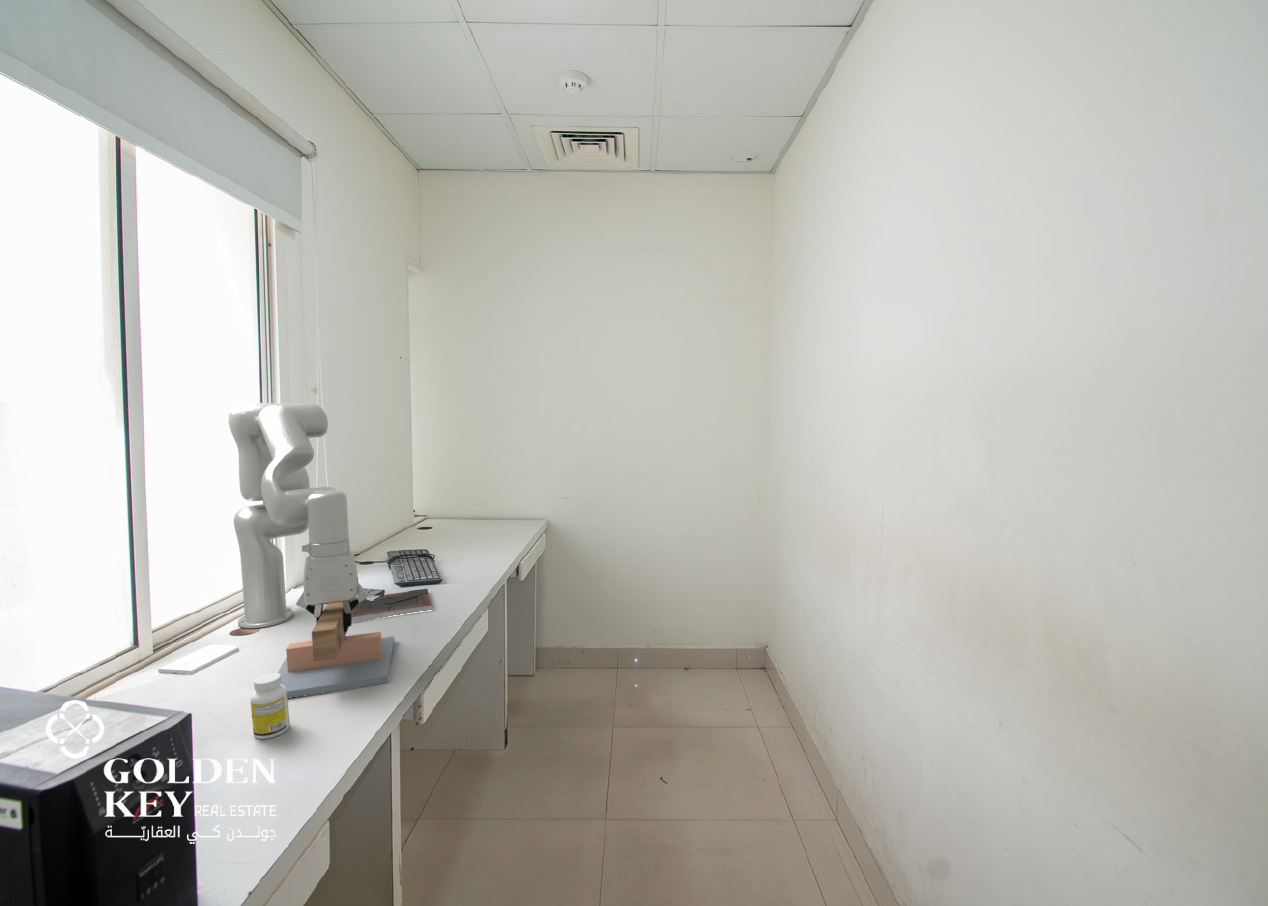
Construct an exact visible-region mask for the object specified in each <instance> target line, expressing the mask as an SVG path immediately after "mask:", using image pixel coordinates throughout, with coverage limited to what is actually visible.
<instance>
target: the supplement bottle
mask: <svg viewBox="0 0 1268 906" xmlns="http://www.w3.org/2000/svg"><path fill="white" fill-rule="evenodd" d="M253 685H254V686H253V687H254V691H253V693H252V694H251V696H250V709H251V710H250V711H251V719H252V732H253V736H254V738H255V739H258V740H267V739H271V738H275V737H278V736H280V735H282V734H283V733H285V732H286V731H287V730H288V729H289V727H290V711H289V699H288V697H287V689H286V687H285V686H284V685H281V675H280V674H279V673H278V672H271V673H270V672H269V673H266V674H263V675H260V676H258V677H257V678H255V679H254V681H253Z"/></svg>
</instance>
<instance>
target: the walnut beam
mask: <svg viewBox="0 0 1268 906" xmlns="http://www.w3.org/2000/svg"><path fill="white" fill-rule="evenodd" d="M351 602H352V600H351ZM343 614H344V607H343V603H342V602H336V603H328V604H326V606H324V608H323V613H322V614H321V616H320V618H319V620H318V622H317V623H316V622H315V623H316V624H315V625H314V627H313V629H312V631H311V641H312V643H313V659H314V661H321V660H328V659H335V658H337V655H338V653H339V650H340V648H341V645H342V643H343V640H344V638H345V636H347V633H348V631H347V632H344V624H343ZM352 617H353V614H352V611H351V620H352Z"/></svg>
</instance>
